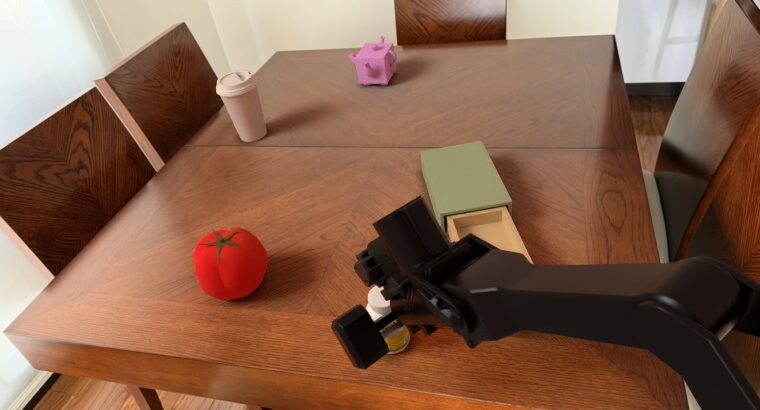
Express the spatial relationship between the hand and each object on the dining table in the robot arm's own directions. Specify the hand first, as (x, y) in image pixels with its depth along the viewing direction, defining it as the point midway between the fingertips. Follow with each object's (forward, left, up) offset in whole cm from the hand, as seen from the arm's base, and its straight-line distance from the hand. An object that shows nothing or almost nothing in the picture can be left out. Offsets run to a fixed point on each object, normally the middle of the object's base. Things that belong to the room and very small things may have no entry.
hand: (385, 304), depth 66 cm
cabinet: (+15, -30, -8) cm, 34 cm away
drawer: (-2, -19, -7) cm, 20 cm away
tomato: (+26, +11, -8) cm, 30 cm away
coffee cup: (+69, -14, -8) cm, 71 cm away
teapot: (+67, -51, -8) cm, 85 cm away
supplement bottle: (0, 0, -8) cm, 8 cm away
